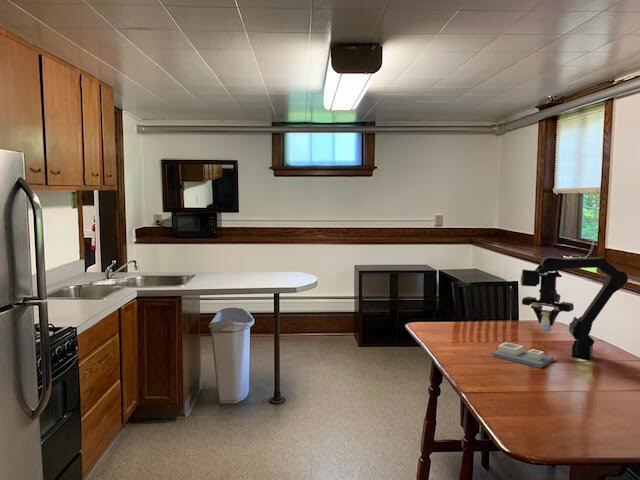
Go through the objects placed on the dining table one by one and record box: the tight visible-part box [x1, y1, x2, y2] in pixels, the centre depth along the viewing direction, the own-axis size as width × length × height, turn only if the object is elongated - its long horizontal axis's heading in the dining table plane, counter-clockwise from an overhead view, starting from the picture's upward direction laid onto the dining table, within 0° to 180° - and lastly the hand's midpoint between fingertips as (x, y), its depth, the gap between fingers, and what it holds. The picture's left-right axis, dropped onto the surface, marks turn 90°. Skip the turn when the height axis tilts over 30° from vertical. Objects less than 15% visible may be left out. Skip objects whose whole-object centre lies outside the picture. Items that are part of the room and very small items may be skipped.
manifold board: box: [492, 341, 554, 369], centre depth 191 cm, size 19×13×4 cm
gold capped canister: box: [540, 309, 552, 333], centre depth 196 cm, size 5×5×8 cm
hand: (546, 324), depth 196 cm, fingers closed on gold capped canister, 4 cm apart
